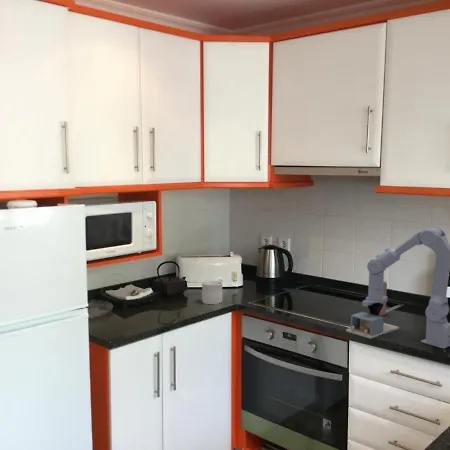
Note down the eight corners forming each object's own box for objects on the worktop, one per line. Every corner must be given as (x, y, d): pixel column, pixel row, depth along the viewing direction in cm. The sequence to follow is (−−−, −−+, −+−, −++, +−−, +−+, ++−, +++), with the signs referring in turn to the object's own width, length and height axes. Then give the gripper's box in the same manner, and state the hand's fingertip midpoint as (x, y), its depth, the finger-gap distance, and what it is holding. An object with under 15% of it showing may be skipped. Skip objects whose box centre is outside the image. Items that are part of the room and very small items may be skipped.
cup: (226, 302, 262) (226, 282, 261) (211, 306, 255) (212, 285, 254) (212, 298, 269) (212, 279, 268) (197, 302, 262) (198, 282, 261)
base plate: (398, 328, 224) (399, 322, 224) (370, 338, 211) (370, 331, 211) (374, 322, 233) (375, 315, 233) (346, 331, 220) (346, 324, 220)
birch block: (376, 330, 219) (376, 319, 219) (369, 332, 216) (369, 321, 216) (366, 327, 223) (367, 316, 222) (360, 329, 220) (360, 318, 219)
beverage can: (369, 314, 245) (370, 281, 243) (376, 311, 249) (377, 279, 247) (381, 317, 241) (382, 283, 239) (387, 314, 245) (389, 281, 243)
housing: (383, 330, 218) (383, 317, 217) (371, 334, 213) (372, 321, 212) (362, 324, 225) (362, 311, 225) (350, 328, 220) (350, 315, 219)
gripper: (377, 283, 228) (376, 315, 229) (356, 288, 219) (355, 321, 220) (392, 286, 223) (391, 319, 224) (371, 292, 213) (370, 325, 215)
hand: (374, 320), depth 222 cm, fingers closed
